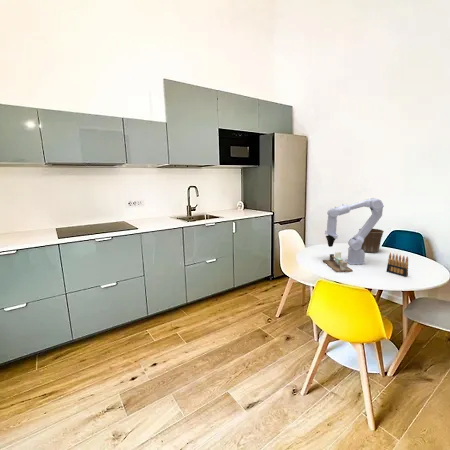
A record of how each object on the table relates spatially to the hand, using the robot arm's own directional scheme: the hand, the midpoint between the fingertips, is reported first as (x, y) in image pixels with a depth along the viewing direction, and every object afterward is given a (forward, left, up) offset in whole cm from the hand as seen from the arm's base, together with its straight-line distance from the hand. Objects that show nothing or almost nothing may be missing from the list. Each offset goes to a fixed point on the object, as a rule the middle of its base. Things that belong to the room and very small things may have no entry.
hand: (330, 246), depth 174 cm
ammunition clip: (-28, +26, -11) cm, 40 cm away
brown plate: (0, +10, -10) cm, 15 cm away
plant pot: (-39, -20, -11) cm, 45 cm away
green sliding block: (0, +12, -7) cm, 14 cm away
